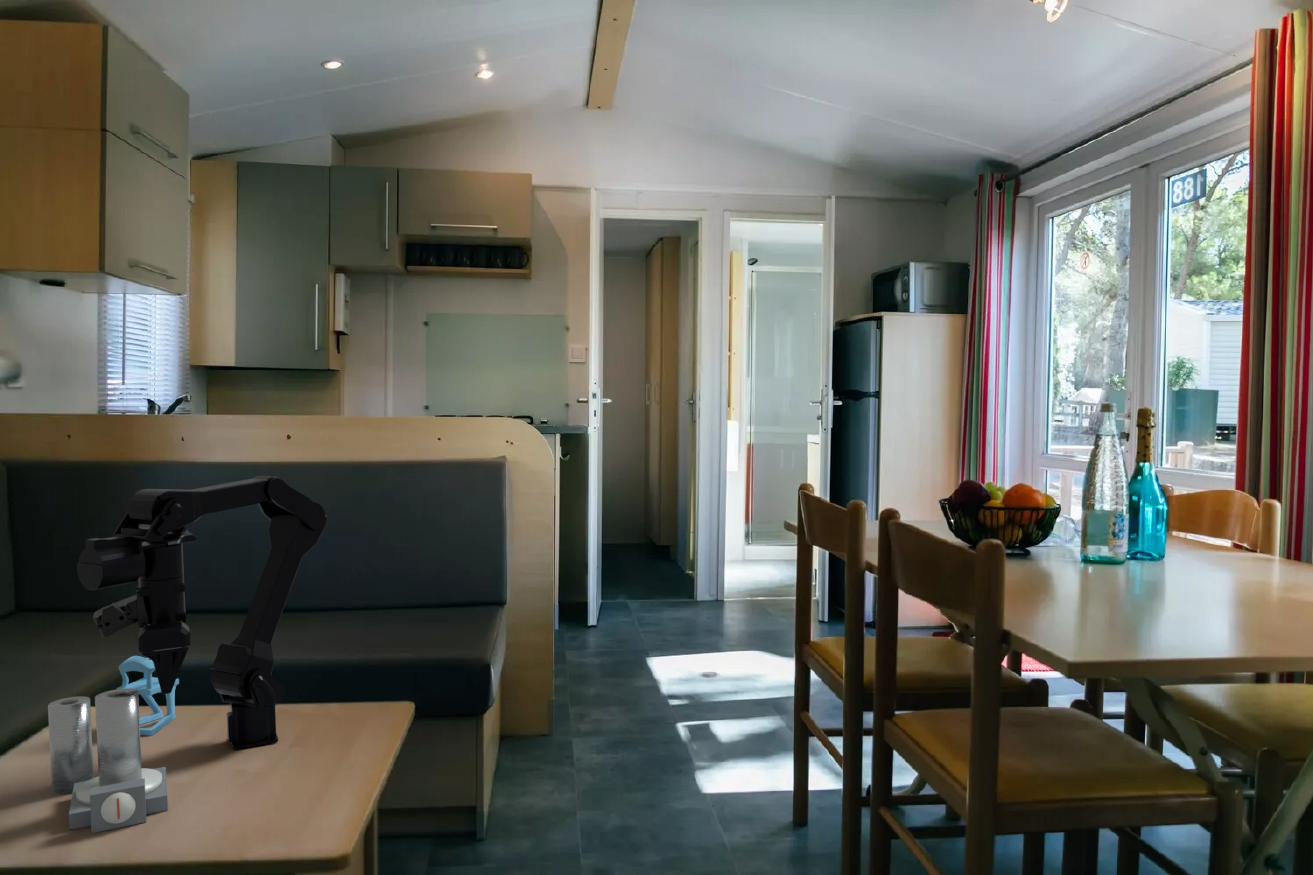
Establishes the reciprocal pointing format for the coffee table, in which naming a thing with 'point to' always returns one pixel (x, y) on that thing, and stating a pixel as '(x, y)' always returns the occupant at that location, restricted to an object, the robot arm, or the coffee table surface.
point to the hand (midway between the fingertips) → (165, 684)
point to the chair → (148, 692)
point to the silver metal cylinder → (118, 736)
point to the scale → (118, 801)
